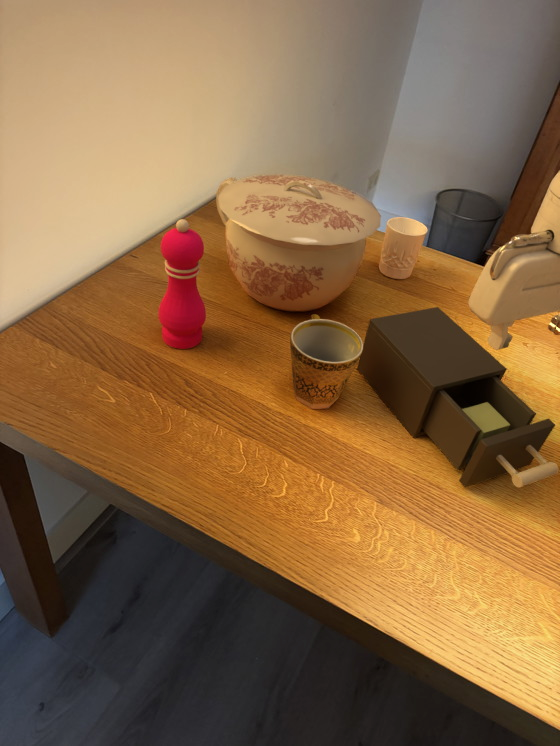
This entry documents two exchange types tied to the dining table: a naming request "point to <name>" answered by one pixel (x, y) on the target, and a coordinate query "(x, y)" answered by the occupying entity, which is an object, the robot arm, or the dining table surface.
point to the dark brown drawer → (494, 452)
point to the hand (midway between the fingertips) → (527, 338)
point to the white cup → (401, 247)
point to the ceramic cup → (322, 360)
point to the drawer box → (420, 362)
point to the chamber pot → (294, 237)
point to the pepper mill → (182, 288)
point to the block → (486, 421)
